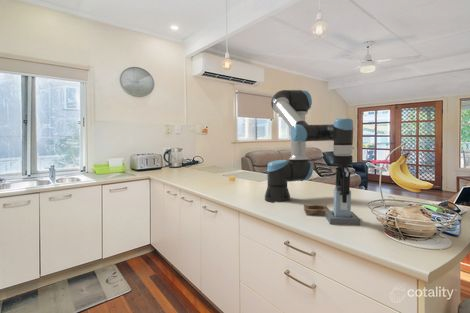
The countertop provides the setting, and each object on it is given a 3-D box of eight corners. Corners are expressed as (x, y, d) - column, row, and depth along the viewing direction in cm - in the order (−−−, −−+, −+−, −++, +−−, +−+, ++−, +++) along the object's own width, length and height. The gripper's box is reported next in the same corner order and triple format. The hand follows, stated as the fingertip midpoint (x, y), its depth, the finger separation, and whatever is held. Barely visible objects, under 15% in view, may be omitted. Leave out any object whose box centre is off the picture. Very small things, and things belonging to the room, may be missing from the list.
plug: (335, 218, 105) (336, 187, 104) (333, 215, 109) (333, 185, 108) (350, 218, 105) (351, 187, 103) (347, 215, 109) (348, 185, 107)
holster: (306, 216, 115) (306, 210, 115) (304, 210, 123) (304, 204, 123) (329, 216, 114) (329, 210, 113) (325, 211, 122) (325, 205, 122)
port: (330, 225, 103) (330, 217, 103) (325, 217, 113) (325, 210, 113) (360, 226, 101) (360, 218, 101) (352, 217, 111) (352, 210, 111)
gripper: (359, 156, 96) (358, 214, 98) (346, 153, 112) (345, 202, 114) (339, 156, 97) (338, 214, 99) (329, 153, 113) (328, 202, 116)
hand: (342, 207), depth 107 cm, fingers closed on plug, 4 cm apart
